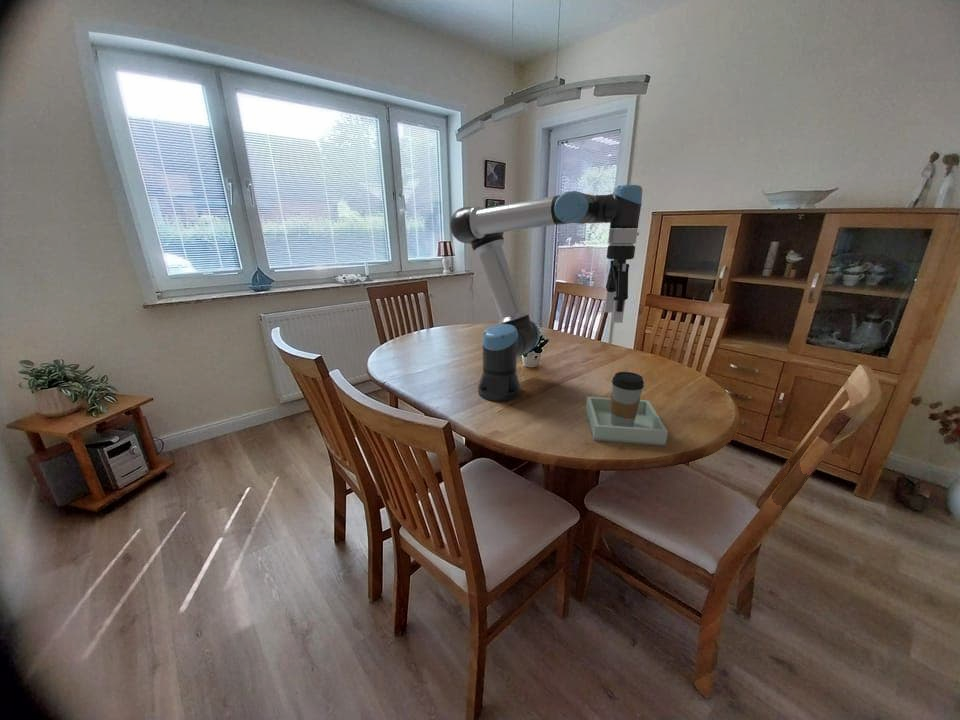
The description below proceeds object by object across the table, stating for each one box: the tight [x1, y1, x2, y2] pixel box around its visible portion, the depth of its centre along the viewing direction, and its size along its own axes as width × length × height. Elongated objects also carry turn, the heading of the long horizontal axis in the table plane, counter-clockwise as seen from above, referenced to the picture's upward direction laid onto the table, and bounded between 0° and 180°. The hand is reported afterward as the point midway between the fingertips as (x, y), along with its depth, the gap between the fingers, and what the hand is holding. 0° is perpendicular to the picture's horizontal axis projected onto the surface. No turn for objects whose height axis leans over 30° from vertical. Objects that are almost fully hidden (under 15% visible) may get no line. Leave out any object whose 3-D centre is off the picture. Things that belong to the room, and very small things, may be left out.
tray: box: [585, 396, 669, 447], centre depth 105 cm, size 18×18×4 cm
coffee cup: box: [610, 371, 644, 427], centre depth 103 cm, size 8×8×15 cm
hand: (612, 317), depth 111 cm, fingers open, 13 cm apart
